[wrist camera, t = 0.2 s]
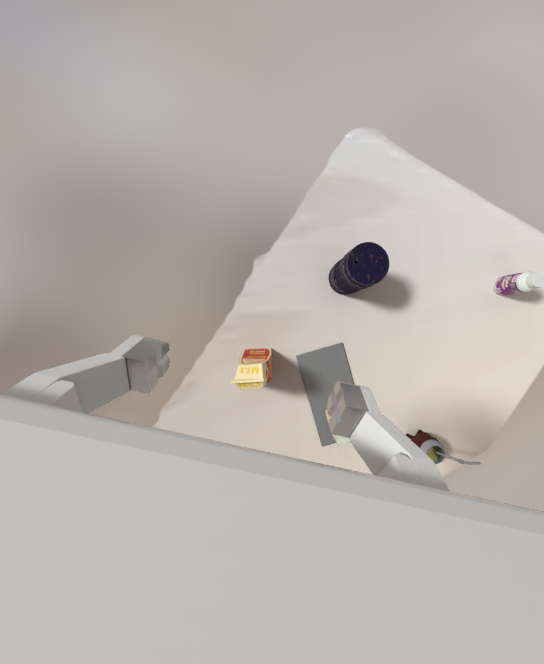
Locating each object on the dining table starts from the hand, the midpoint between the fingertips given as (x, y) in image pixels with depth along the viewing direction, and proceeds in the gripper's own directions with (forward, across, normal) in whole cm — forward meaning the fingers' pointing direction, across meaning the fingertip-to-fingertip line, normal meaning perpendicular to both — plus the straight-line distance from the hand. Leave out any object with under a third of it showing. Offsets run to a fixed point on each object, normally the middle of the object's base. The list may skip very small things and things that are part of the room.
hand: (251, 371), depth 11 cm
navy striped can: (+58, +19, -7) cm, 61 cm away
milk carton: (+43, 0, -34) cm, 55 cm away
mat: (+41, +23, -37) cm, 60 cm away
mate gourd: (+38, +52, -44) cm, 78 cm away
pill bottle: (+62, +65, 0) cm, 89 cm away
